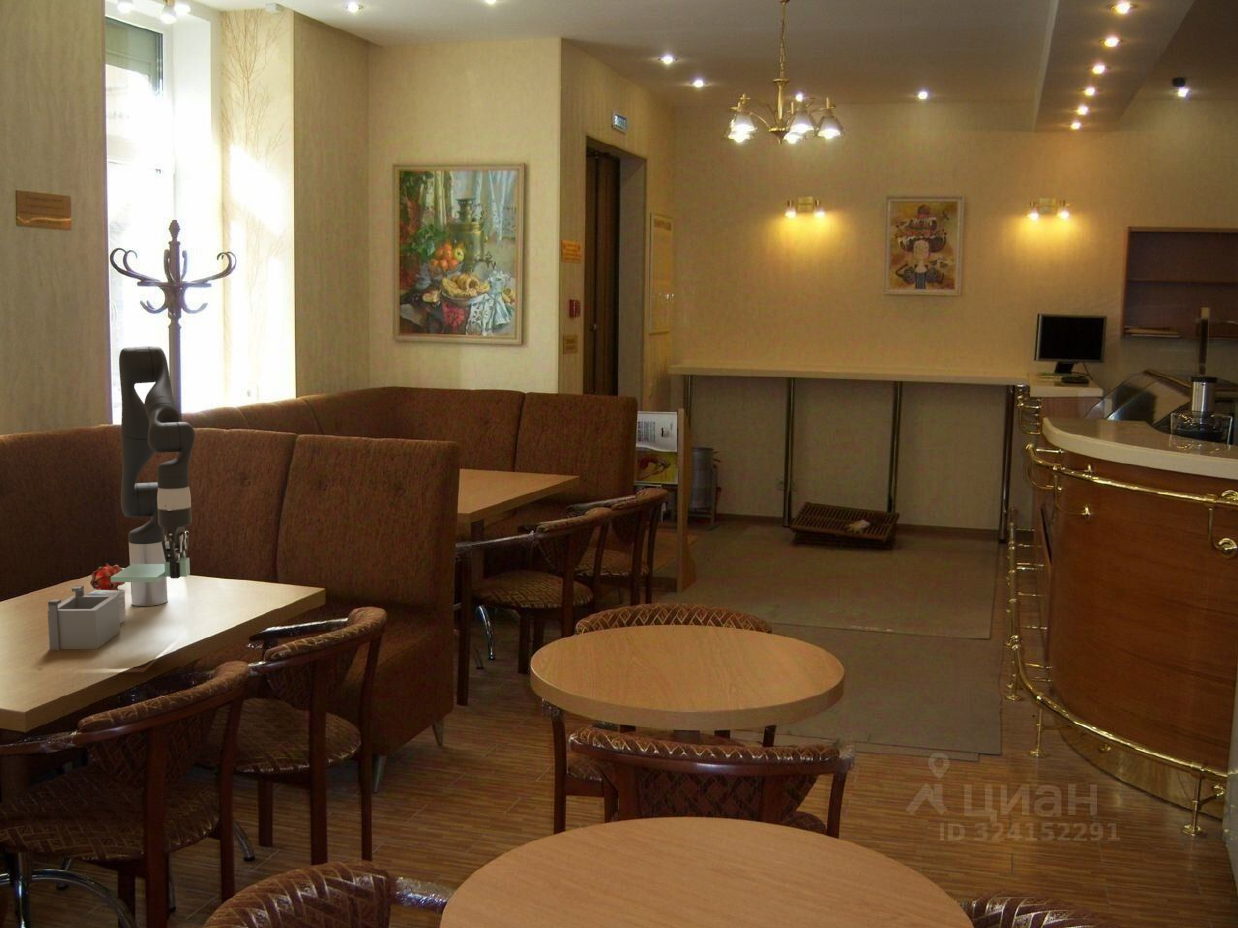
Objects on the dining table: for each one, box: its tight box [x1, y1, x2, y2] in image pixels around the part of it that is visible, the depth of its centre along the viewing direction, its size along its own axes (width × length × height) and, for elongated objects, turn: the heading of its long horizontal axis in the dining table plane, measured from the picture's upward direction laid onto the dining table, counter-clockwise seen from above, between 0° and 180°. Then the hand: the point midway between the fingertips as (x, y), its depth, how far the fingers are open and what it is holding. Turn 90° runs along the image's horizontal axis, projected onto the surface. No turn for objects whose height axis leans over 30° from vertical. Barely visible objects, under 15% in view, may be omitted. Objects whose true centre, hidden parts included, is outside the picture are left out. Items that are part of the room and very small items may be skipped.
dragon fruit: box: [89, 563, 126, 590], centre depth 343 cm, size 8×8×12 cm
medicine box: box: [86, 589, 127, 624], centre depth 307 cm, size 8×4×9 cm, turn 84°
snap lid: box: [111, 557, 191, 583], centre depth 289 cm, size 14×16×4 cm
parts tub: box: [47, 585, 121, 651], centre depth 290 cm, size 17×11×12 cm, turn 3°
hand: (177, 576), depth 289 cm, fingers closed on snap lid, 3 cm apart
